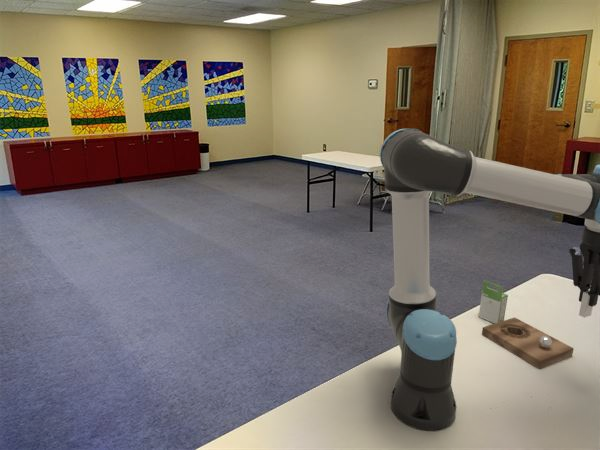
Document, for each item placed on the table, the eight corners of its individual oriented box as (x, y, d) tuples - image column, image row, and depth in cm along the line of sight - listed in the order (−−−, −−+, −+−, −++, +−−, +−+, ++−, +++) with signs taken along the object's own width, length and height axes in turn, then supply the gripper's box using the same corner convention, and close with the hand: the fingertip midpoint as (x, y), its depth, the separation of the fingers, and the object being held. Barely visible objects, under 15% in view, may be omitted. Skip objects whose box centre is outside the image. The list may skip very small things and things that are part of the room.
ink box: (504, 321, 151) (509, 284, 147) (497, 325, 149) (502, 287, 145) (485, 313, 156) (489, 277, 152) (478, 317, 154) (482, 280, 150)
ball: (545, 351, 130) (547, 341, 129) (535, 345, 133) (536, 335, 132) (553, 348, 131) (555, 338, 130) (543, 343, 134) (545, 332, 133)
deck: (572, 355, 132) (573, 348, 131) (538, 368, 126) (540, 360, 126) (513, 324, 149) (514, 317, 149) (481, 334, 143) (482, 327, 143)
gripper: (639, 233, 109) (619, 323, 116) (585, 219, 120) (570, 301, 127) (620, 238, 106) (600, 330, 113) (566, 223, 117) (552, 307, 124)
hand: (584, 315), depth 120 cm, fingers closed
